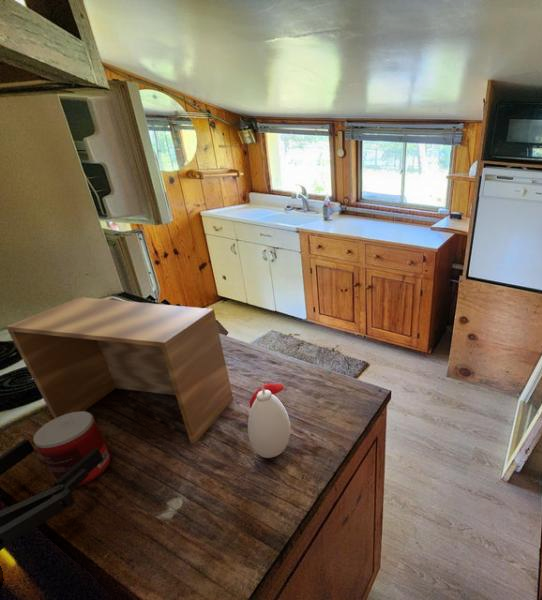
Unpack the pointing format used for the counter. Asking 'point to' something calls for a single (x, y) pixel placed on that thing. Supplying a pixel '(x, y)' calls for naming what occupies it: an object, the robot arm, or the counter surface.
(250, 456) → the counter surface
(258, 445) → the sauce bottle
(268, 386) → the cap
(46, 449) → the canned food
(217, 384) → the cupboard
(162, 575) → the counter surface
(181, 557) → the counter surface
